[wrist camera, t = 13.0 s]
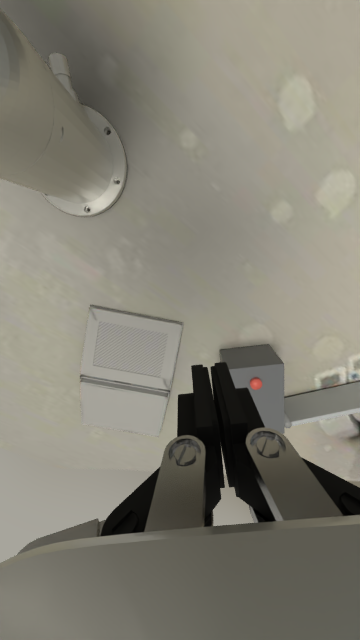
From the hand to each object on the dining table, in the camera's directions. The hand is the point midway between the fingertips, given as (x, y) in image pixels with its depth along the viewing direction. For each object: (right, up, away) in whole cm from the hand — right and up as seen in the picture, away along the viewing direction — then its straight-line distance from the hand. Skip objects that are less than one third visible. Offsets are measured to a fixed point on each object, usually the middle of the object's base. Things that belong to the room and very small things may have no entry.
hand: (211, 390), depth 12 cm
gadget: (-10, -6, +31) cm, 33 cm away
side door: (+24, -9, +30) cm, 39 cm away
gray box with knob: (+10, -7, +30) cm, 32 cm away
